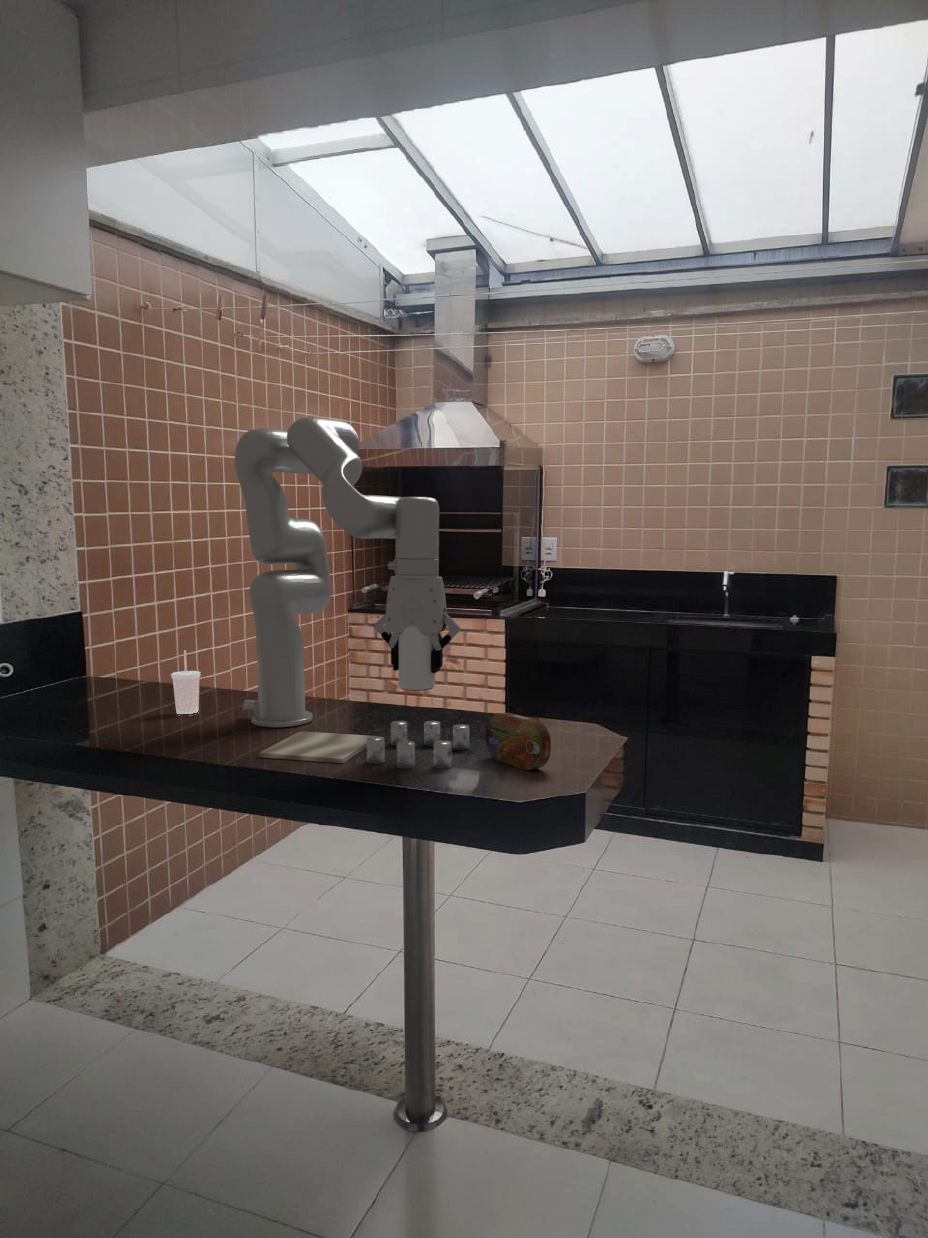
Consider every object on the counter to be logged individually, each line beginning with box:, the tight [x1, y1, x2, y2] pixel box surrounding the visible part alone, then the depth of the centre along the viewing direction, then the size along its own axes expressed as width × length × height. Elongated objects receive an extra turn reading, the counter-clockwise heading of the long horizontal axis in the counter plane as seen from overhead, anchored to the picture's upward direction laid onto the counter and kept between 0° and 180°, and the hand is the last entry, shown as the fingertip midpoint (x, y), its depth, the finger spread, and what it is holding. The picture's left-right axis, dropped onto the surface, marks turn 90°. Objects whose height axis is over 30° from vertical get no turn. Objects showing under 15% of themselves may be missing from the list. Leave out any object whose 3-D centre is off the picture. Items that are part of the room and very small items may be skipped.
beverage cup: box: [170, 649, 201, 715], centre depth 178 cm, size 6×6×14 cm
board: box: [258, 731, 376, 764], centre depth 149 cm, size 16×16×1 cm
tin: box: [485, 712, 552, 771], centre depth 138 cm, size 15×3×8 cm, turn 35°
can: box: [398, 622, 436, 692], centre depth 143 cm, size 6×6×12 cm
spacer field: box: [366, 720, 470, 770], centre depth 144 cm, size 15×18×4 cm
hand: (416, 669), depth 143 cm, fingers closed on can, 6 cm apart
